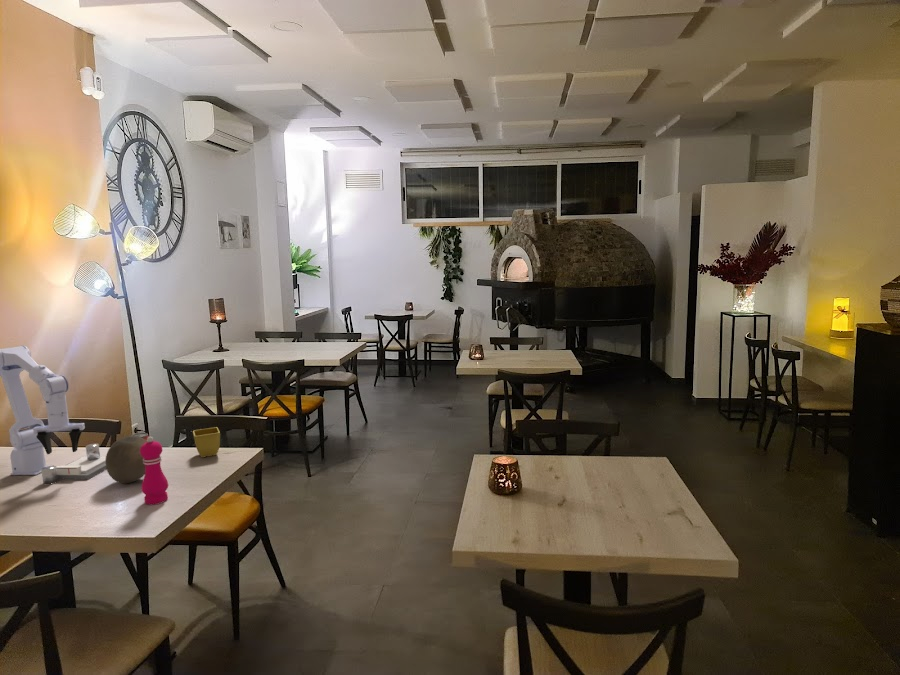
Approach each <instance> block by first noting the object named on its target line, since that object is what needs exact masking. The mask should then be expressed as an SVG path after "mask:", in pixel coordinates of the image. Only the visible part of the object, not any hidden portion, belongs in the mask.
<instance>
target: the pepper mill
mask: <svg viewBox="0 0 900 675" xmlns="http://www.w3.org/2000/svg"><path fill="white" fill-rule="evenodd" d="M162 453H163V446H162V444H161V443H160V442H159V441H157V440H154V437H153V436H149V437H148V438H147V442H146V443H144V444H143V445H142V446H141V448H140V454H141V456H142V457H143V464H145V475H144V476H143V477H144V478H143V479H142V482H141V492H142V493H143V494H144V495H145V496H144V497H143V499H144V504H146V505H150V504H152V505H159V504H161V502H162V503H164V502H166V501H167V500H168V497H169V496H168V492H167V491H166V490H168V487H169V483H168V482H169V481H168V480H167V479H168V478H167V477H166V476H165V473H164V472H163V470H162V467H161V462H162V456H161V454H162ZM163 501H164V502H163ZM158 503H159V504H158Z"/></svg>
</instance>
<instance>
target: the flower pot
mask: <svg viewBox="0 0 900 675" xmlns="http://www.w3.org/2000/svg"><path fill="white" fill-rule="evenodd" d="M192 434H193V439H194V444H195V447H196V450H197V453H198V455H199V456H200V457H201V458H205V457H206V456H207V457H212V455H213V456H216V455H217V454H218V452H219V450H220V445H221V432H220V430H219V428H218V427H217V426H216V427H215V426H214V427H209V428H203V429H202V428H201V429H195V430H193V431H192Z"/></svg>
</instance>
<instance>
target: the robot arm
mask: <svg viewBox="0 0 900 675" xmlns="http://www.w3.org/2000/svg"><path fill="white" fill-rule="evenodd" d="M23 371H26V372H28V373H29V374H28V376H29V379H31V380H32V381H33V382H34V383H35V384H36V385H37V386H38V387H39V390H40V393H41V395H42V399H43V401H44V402H45V408H46V415H47V425H45V424H44V422H43V420H42V419H39V418H36V417H34V416H33V412H32V411H31V406H30V404H29V401H28V398H27V395H26V392H25V389H24V386H23V383H22V380H21V376H20V375H21V374H20V373H21V372H23ZM0 378H1V380H2V384H3V386H4V389H5V393H6V396H7V399H8V402H9V405H10V407H11V410H12V413H13V414H12V415H13V417H14V421H15V422H14V423H13V424H12V425H11V426H10V428H9V429H8V433H9V441H10V444H11V446H12V447H13V449H12V450H11V452H10V463H11V464H10V465H11V471H12V472H11V473H10V475H11V476H15V475H16V476H17V475H18V476H20V475H21V476H30V475H31V476H36V475H39V474H42V470H41V469H42V468H44V467H48V466H49V465H47V464H46V456H45V452H46V455H50V454H51V453H53V450H52V449H53V448H52V441H51V438H52V437H51V434H52V433H55V432H58V433H59V432H67V431H68V435H69V438H70V441H71V450H72V453H76V452H77V451H78V445H79V441H80V437H81V435H82V432H83V430H84V429H85V428H86V426H85V422H80V423H79V422H78V423H77V422H70V419H69V413H68V412H69V411H68V410H69V409H68V403H67V396H66V392H68V391H69V387H70V386H69V381H68V379H67V377H66V376H65V375H64V374H61V375H60V374H56V373H54V372H53V371H52V370H51V369H49V368H48V367H47V366H46V365H44V364H38V363H37V362H36V360H34V358H32V354H31V350H30V349H29V347H27V346H26V345H21V346H15V347H14V346H13V347H6V348H0ZM69 431H70V432H69Z"/></svg>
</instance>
